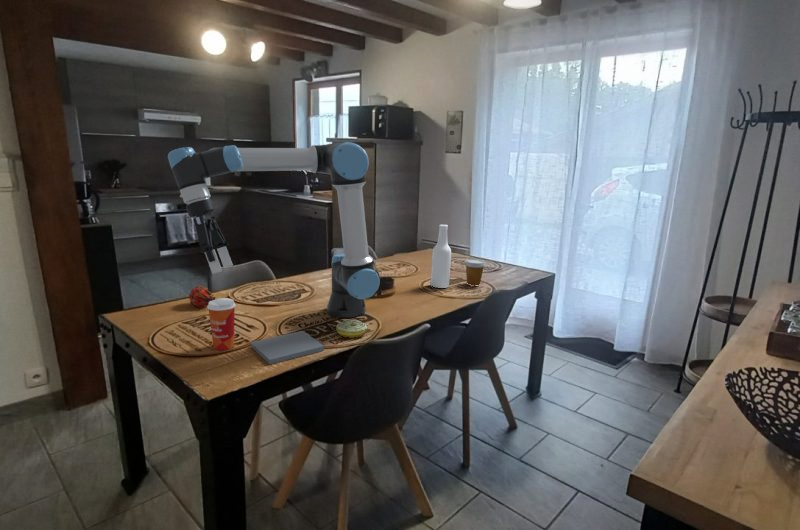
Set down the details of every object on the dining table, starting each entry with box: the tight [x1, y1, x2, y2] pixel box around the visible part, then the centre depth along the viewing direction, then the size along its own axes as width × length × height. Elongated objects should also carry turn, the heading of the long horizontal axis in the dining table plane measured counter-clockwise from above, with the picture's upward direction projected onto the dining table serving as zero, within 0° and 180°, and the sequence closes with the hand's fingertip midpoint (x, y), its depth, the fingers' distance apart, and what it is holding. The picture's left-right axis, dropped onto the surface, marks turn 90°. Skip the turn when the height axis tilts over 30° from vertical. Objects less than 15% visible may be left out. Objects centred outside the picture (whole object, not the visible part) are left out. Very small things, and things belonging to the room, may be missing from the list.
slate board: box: [250, 330, 325, 365], centre depth 144 cm, size 18×15×2 cm
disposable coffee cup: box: [464, 258, 486, 285], centre depth 223 cm, size 10×10×12 cm
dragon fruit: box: [188, 285, 216, 309], centre depth 178 cm, size 8×8×12 cm
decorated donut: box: [335, 319, 368, 339], centre depth 158 cm, size 10×11×4 cm
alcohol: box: [430, 224, 452, 289], centre depth 215 cm, size 9×9×30 cm
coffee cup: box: [206, 297, 236, 351], centre depth 142 cm, size 8×8×15 cm
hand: (223, 269), depth 137 cm, fingers open, 13 cm apart
